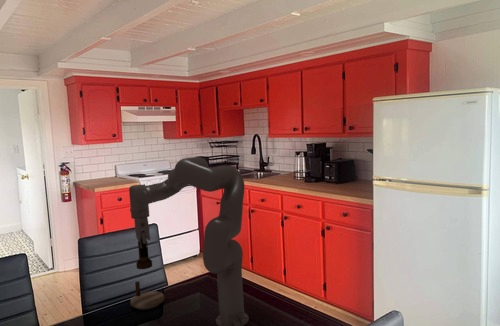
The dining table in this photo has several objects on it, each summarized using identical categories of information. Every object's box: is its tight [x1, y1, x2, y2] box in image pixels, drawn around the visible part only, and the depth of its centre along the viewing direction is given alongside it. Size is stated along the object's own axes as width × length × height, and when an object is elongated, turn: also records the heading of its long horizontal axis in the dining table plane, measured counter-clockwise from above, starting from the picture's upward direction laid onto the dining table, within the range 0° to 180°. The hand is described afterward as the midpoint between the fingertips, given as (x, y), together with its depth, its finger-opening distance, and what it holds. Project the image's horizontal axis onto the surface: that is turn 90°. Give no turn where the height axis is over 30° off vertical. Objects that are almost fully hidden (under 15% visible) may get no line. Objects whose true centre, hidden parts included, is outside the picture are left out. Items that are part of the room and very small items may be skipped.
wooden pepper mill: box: [135, 239, 153, 270], centre depth 166 cm, size 7×6×18 cm
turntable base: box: [136, 304, 160, 311], centre depth 168 cm, size 10×10×1 cm
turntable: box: [130, 281, 165, 309], centre depth 167 cm, size 14×14×8 cm
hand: (143, 254), depth 166 cm, fingers closed on wooden pepper mill, 3 cm apart
